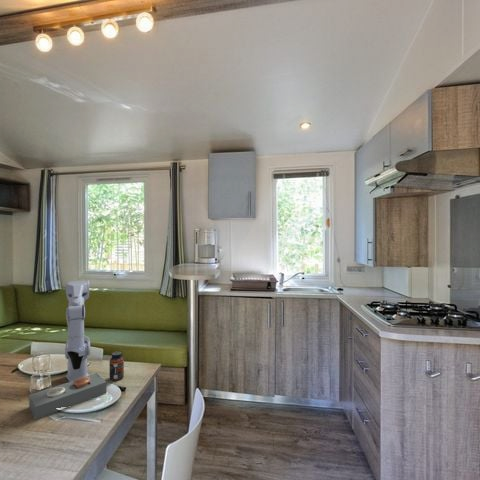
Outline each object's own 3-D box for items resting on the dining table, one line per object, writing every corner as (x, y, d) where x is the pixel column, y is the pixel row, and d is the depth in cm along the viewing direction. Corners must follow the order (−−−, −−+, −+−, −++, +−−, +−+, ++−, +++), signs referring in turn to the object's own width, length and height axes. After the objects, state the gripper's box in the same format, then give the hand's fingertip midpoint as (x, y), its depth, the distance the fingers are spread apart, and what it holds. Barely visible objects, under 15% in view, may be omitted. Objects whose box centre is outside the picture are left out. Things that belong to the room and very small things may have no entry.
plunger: (45, 402, 110) (44, 391, 110) (62, 396, 114) (62, 385, 114) (48, 409, 106) (48, 397, 106) (67, 402, 110) (67, 391, 110)
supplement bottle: (118, 382, 126) (118, 356, 126) (106, 380, 128) (106, 355, 127) (126, 375, 132) (126, 351, 132) (115, 374, 133) (114, 350, 133)
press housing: (35, 419, 101) (35, 407, 101) (29, 406, 108) (29, 394, 108) (106, 393, 118) (106, 382, 118) (96, 383, 125) (96, 373, 125)
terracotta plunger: (71, 391, 116) (71, 380, 116) (87, 385, 120) (87, 375, 120) (76, 397, 112) (75, 385, 112) (92, 391, 116) (92, 380, 116)
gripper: (59, 333, 119) (60, 366, 119) (70, 342, 109) (70, 378, 109) (78, 329, 124) (79, 360, 124) (90, 337, 114) (90, 371, 114)
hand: (76, 368), depth 117 cm, fingers closed
